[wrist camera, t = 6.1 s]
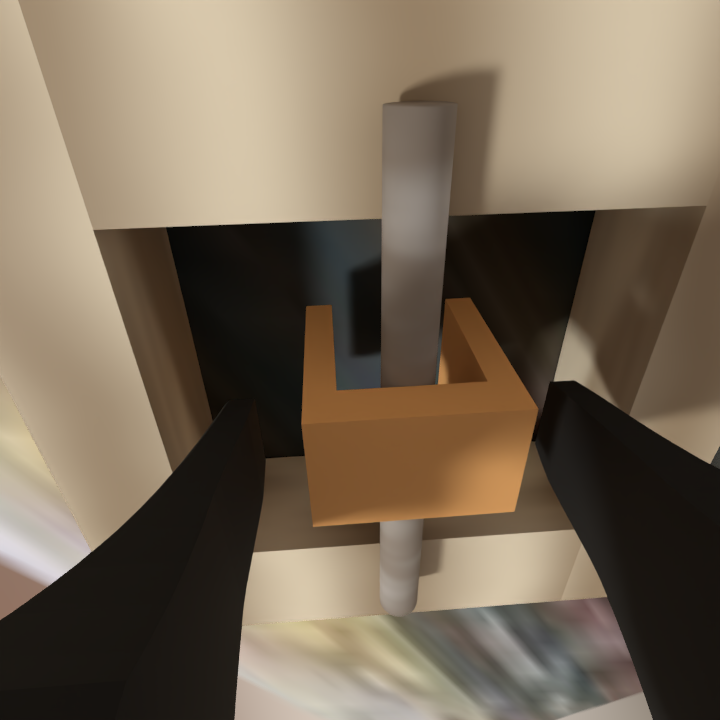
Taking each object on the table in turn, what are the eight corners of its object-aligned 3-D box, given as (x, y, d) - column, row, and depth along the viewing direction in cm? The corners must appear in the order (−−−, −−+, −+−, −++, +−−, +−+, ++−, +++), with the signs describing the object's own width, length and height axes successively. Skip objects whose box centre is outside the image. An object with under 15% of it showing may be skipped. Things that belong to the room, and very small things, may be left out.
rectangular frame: (781, -26, 11) (1087, -76, 7) (589, 505, 21) (661, 627, 16) (-40, -13, 10) (-314, -60, 6) (166, 535, 20) (122, 672, 16)
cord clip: (469, 297, 14) (538, 409, 9) (459, 383, 15) (514, 511, 11) (306, 306, 13) (301, 424, 9) (314, 392, 15) (313, 526, 11)
